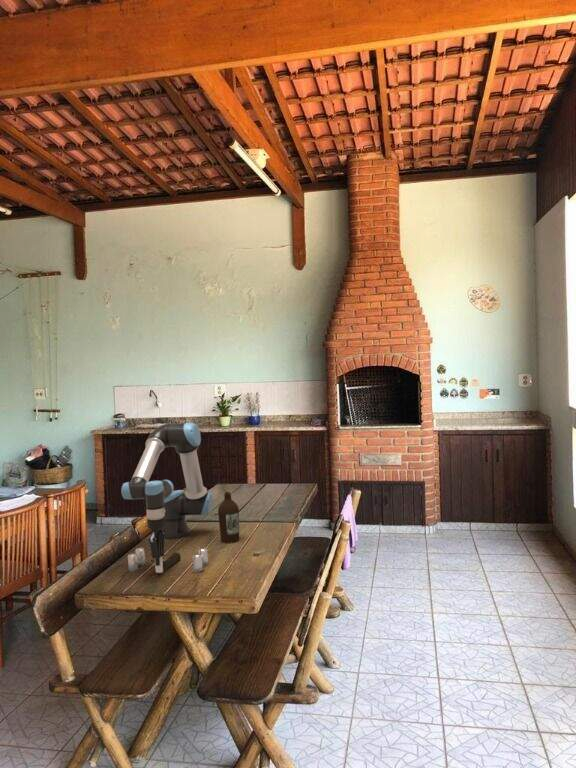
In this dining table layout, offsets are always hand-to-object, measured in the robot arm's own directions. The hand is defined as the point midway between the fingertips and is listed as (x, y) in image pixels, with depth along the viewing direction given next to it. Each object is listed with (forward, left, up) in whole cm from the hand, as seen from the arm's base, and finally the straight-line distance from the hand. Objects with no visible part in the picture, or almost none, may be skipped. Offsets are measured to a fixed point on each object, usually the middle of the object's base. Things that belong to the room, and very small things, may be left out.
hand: (159, 571), depth 246 cm
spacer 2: (-15, -15, -2) cm, 21 cm away
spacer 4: (-15, +15, -2) cm, 21 cm away
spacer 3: (-7, +15, -2) cm, 16 cm away
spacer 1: (-7, -15, -2) cm, 16 cm away
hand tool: (-11, 0, -2) cm, 11 cm away
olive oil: (-50, +18, -2) cm, 53 cm away
